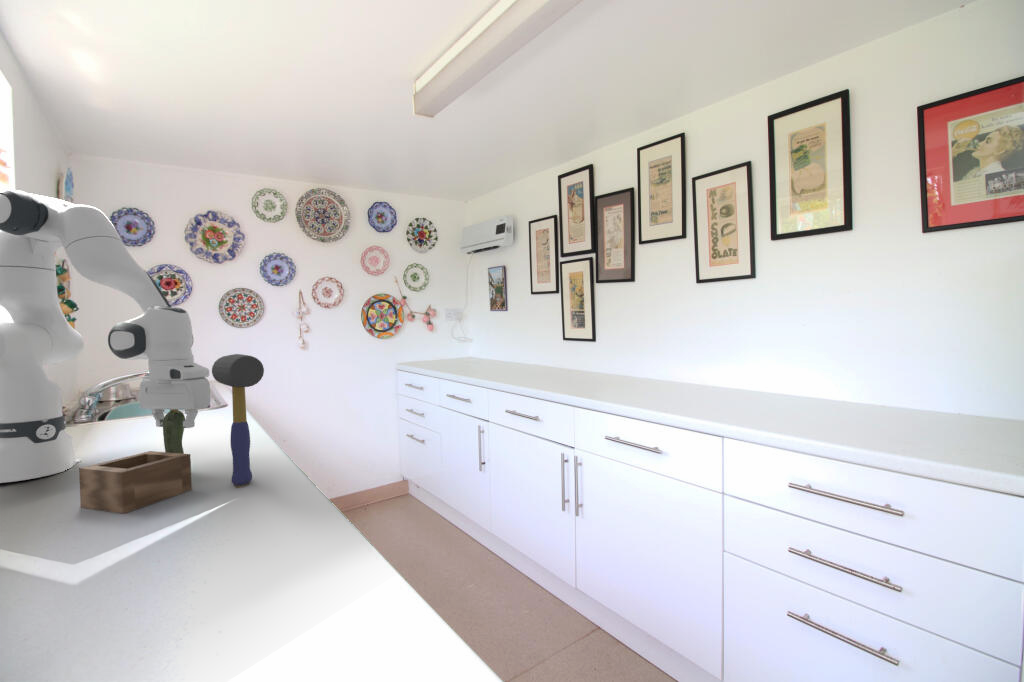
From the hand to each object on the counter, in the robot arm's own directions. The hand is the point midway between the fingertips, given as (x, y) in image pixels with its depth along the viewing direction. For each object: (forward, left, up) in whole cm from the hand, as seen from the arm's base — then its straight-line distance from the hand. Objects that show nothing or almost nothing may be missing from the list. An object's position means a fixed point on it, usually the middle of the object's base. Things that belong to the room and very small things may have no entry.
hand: (175, 427), depth 106 cm
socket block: (+8, -13, -12) cm, 19 cm away
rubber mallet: (+24, -2, -12) cm, 27 cm away
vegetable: (0, 0, -12) cm, 12 cm away
